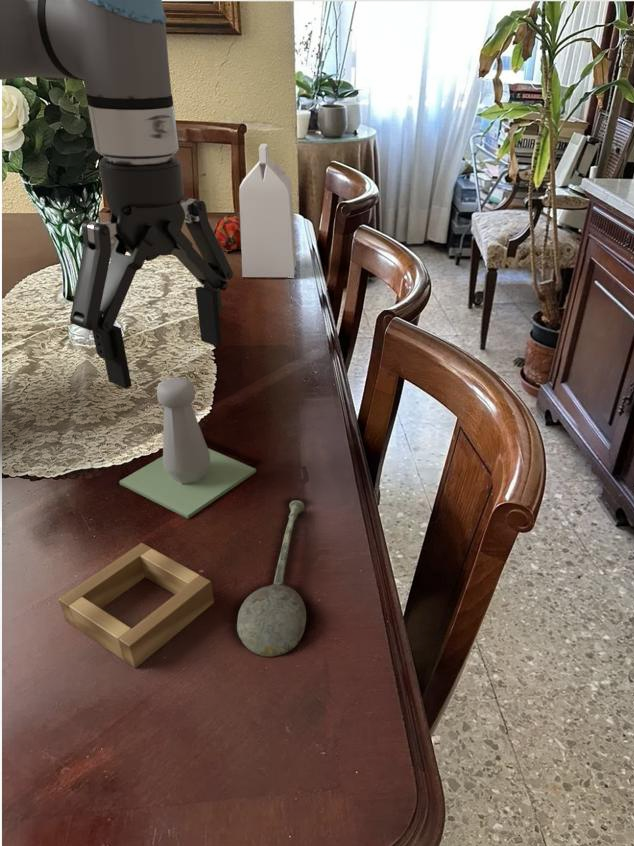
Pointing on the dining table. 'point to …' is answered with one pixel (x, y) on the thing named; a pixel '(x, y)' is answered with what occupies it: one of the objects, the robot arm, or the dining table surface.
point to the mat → (188, 496)
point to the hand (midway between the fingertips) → (168, 362)
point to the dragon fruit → (229, 233)
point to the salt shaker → (182, 432)
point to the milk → (267, 220)
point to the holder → (156, 628)
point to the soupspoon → (274, 608)
